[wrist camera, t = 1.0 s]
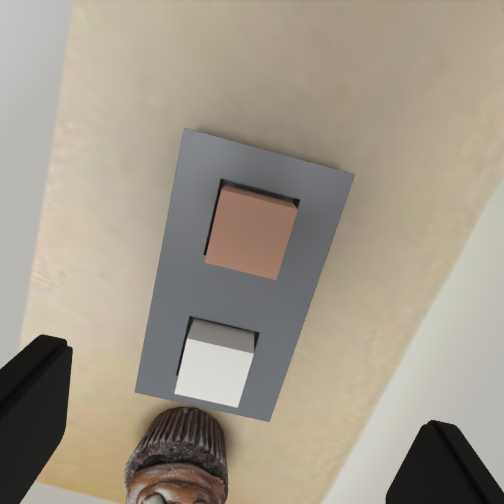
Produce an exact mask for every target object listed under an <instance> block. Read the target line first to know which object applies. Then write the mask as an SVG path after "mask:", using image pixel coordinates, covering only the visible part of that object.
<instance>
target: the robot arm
mask: <svg viewBox="0 0 504 504" xmlns="http://www.w3.org/2000/svg"><path fill="white" fill-rule="evenodd" d="M72 354H73V349H72V347H70V346H67V341H66V340H65V339H62V338H57V337H53V336H48V335H44V334H42V335H39V336H38V337H37V338H35V339H34V340H33V341H32V342H31V343H30V344H29V345H27V346H26V347H25V348H24V349H23V350H22V351H21V352H19V353H18V354H17V355H16V356H15V357H14V358H13V359H12V360H10V361H9V362H8V363H7V364H6V365H5V366H4V367H2V368H1V369H0V504H20V502H21V501H22V499H23V498H24V496H25V495H26V493H27V492H28V490H29V489H30V487H31V486H32V484H33V483H34V481H35V480H36V478H37V477H38V475H39V474H40V472H41V471H42V469H43V468H44V466H45V465H46V463H47V462H48V460H49V459H50V457H51V455H52V454H53V452H54V451H55V449H56V448H57V446H58V445H59V443H60V442H61V439H62V437H63V435H64V432H65V428H66V419H67V408H68V397H69V386H70V375H71V365H72ZM386 504H504V493H503V491H502V489H501V488H500V487H499V485H498V484H497V482H496V481H495V480H494V478H493V477H492V475H491V474H490V472H489V471H488V469H487V468H486V467H485V465H484V464H483V462H482V461H481V460H480V458H479V457H478V455H477V454H476V452H475V451H474V449H473V448H472V447H471V445H470V444H469V443H468V441H467V440H466V438H465V437H464V435H463V434H462V432H461V431H460V429H459V428H458V427H457V426H455V425H453V424H449V423H444V422H440V421H436V420H431V421H429V422H428V423H427V424H424V425H423V426H422V427H421V428H420V430H419V432H418V434H417V436H416V438H415V440H414V442H413V444H412V446H411V448H410V449H409V451H408V454H407V455H406V457H405V459H404V461H403V463H402V465H401V467H400V469H399V471H398V472H397V474H396V476H395V478H394V480H393V482H392V484H391V486H390V488H389V490H388V492H387V494H386Z"/></svg>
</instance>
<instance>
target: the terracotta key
mask: <svg viewBox="0 0 504 504" xmlns="http://www.w3.org/2000/svg"><path fill="white" fill-rule="evenodd" d="M297 211H298V209H297V208H296V206H295V205H294V203H293V202H289V201H285V200H282V199H278V198H274V197H270V196H267V195H263V194H259V193H255V192H251V191H248V190H244V189H240V188H236V187H232V186H229V185H225V186H224V187H223V188H222V190H221V193H220V198H219V202H218V206H217V211H216V215H215V219H214V224H213V228H212V233H211V237H210V241H209V246H208V250H207V254H206V259H205V263H209V264H213V265H217V266H221V267H225V268H229V269H233V270H237V271H241V272H245V273H249V274H253V275H257V276H261V277H265V278H269V279H273V280H277V277H278V273H279V270H280V267H281V263H282V260H283V257H284V253H285V250H286V247H287V244H288V240H289V237H290V234H291V230H292V227H293V224H294V221H295V217H296V214H297Z"/></svg>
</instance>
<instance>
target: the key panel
mask: <svg viewBox="0 0 504 504" xmlns="http://www.w3.org/2000/svg"><path fill="white" fill-rule="evenodd" d="M354 176H355V174H352V173H348V172H344V171H341V170H337V169H333V168H330V167H326V166H322V165H319V164H315V163H311V162H308V161H304V160H300V159H297V158H293V157H289V156H286V155H282V154H278V153H275V152H271V151H267V150H264V149H260V148H256V147H253V146H249V145H245V144H242V143H238V142H234V141H231V140H227V139H223V138H220V137H216V136H212V135H209V134H205V133H201V132H198V131H194V130H190V129H187V128H184V131H183V136H182V142H181V147H180V152H179V158H178V163H177V168H176V174H175V179H174V184H173V190H172V195H171V200H170V206H169V211H168V217H167V222H166V227H165V233H164V238H163V243H162V249H161V254H160V259H159V265H158V270H157V275H156V281H155V286H154V291H153V297H152V302H151V307H150V313H149V318H148V323H147V329H146V334H145V339H144V345H143V350H142V355H141V361H140V366H139V372H138V377H137V382H136V388H135V393H140V394H144V395H149V396H154V397H158V398H163V399H167V400H172V401H176V402H181V403H185V404H190V405H195V406H199V407H204V408H208V409H213V410H217V411H222V412H226V413H231V414H236V415H240V416H245V417H249V418H254V419H258V420H263V421H267V422H270V419H271V416H272V413H273V411H274V408H275V405H276V402H277V399H278V396H279V393H280V390H281V387H282V384H283V382H284V379H285V376H286V373H287V370H288V367H289V364H290V361H291V358H292V355H293V353H294V350H295V347H296V344H297V341H298V338H299V335H300V332H301V329H302V326H303V324H304V321H305V318H306V315H307V312H308V309H309V306H310V303H311V300H312V297H313V295H314V292H315V289H316V286H317V283H318V280H319V277H320V274H321V271H322V268H323V265H324V263H325V260H326V257H327V254H328V251H329V248H330V245H331V242H332V239H333V236H334V234H335V231H336V228H337V225H338V222H339V219H340V216H341V213H342V210H343V207H344V205H345V202H346V199H347V196H348V193H349V190H350V187H351V184H352V181H353V178H354ZM225 185H229V186H232V187H236V188H240V189H244V190H248V191H251V192H255V193H259V194H263V195H267V196H270V197H274V198H278V199H282V200H285V201H289V202H293V203H294V205H295V206H296V208H297V209H298V211H297V214H296V217H295V221H294V224H293V227H292V230H291V234H290V237H289V240H288V244H287V247H286V250H285V253H284V257H283V260H282V263H281V267H280V270H279V273H278V277H277V280H273V279H269V278H265V277H261V276H257V275H253V274H249V273H245V272H241V271H237V270H233V269H229V268H225V267H221V266H217V265H213V264H209V263H205V259H206V254H207V250H208V246H209V241H210V237H211V233H212V228H213V224H214V219H215V215H216V211H217V206H218V202H219V198H220V193H221V190H222V188H223V187H224V186H225ZM194 318H196V319H200V320H204V321H208V322H213V323H217V324H221V325H225V326H230V327H234V328H238V329H242V330H246V331H251V332H254V355H253V359H252V362H251V365H250V369H249V372H248V375H247V378H246V382H245V385H244V388H243V392H242V395H241V398H240V402H239V405H238V408H237V407H232V406H228V405H223V404H219V403H214V402H210V401H205V400H201V399H196V398H192V397H187V396H183V395H178V394H174V393H175V389H176V384H177V380H178V376H179V371H180V367H181V363H182V358H183V354H184V350H185V345H186V341H187V337H188V334H189V332H190V329H191V326H192V323H193V321H194Z"/></svg>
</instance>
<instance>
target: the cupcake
mask: <svg viewBox="0 0 504 504" xmlns="http://www.w3.org/2000/svg"><path fill="white" fill-rule="evenodd" d="M125 467H126V468H125V470H124V473H126V474H125V475H124V478H126V479H125V482H124V483H126V488H127V497H126V504H224V503H225V501H226V500H227V495H228V469H227V462H226V452H225V440H224V434H223V431H222V429H221V427H220V426H219V423H218V422H217V421H216V420H215V419H214V418H213V417H212V416H210V415H209V414H207V413H206V412H203V411H201V410H198V409H196V408H188V407H177V408H173V409H168V410H166V411H165V412H163V413H161V414H159V416H158V417H156V418H155V420H154V421H153V423H152V424H151V426H150V427H149V429H148V431H147V432H146V434H145V435H144V437H143V438H142V440H141V441H140V443H139V444H138V446H137V447H136V449H135V450H134V452H133V453H132V455H131V456H130V458H129V459H128V462H127V463H126V466H125Z"/></svg>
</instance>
